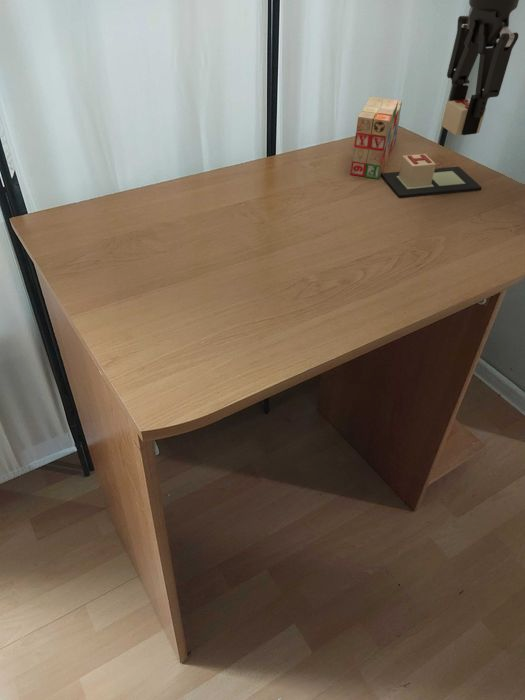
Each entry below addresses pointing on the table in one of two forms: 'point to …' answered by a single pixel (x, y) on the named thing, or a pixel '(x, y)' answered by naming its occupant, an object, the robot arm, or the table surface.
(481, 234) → the table surface
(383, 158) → the stack of blocks
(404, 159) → the cream cube
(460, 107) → the wooden letter block
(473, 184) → the word mat
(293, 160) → the table surface
